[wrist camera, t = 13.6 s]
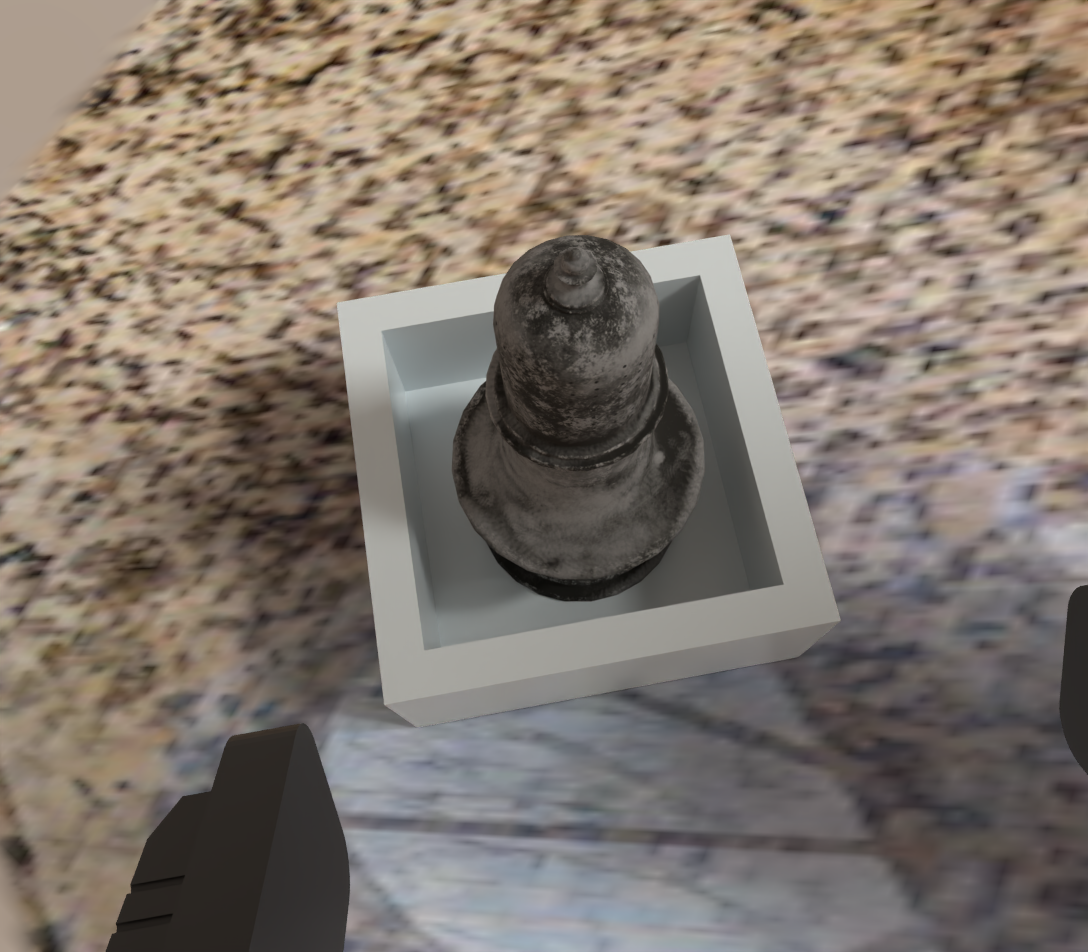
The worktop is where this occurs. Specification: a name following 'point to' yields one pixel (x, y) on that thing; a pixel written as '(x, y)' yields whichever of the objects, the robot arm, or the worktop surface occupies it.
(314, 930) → the robot arm
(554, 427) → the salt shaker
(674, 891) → the worktop surface
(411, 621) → the sleeve
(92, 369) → the worktop surface
